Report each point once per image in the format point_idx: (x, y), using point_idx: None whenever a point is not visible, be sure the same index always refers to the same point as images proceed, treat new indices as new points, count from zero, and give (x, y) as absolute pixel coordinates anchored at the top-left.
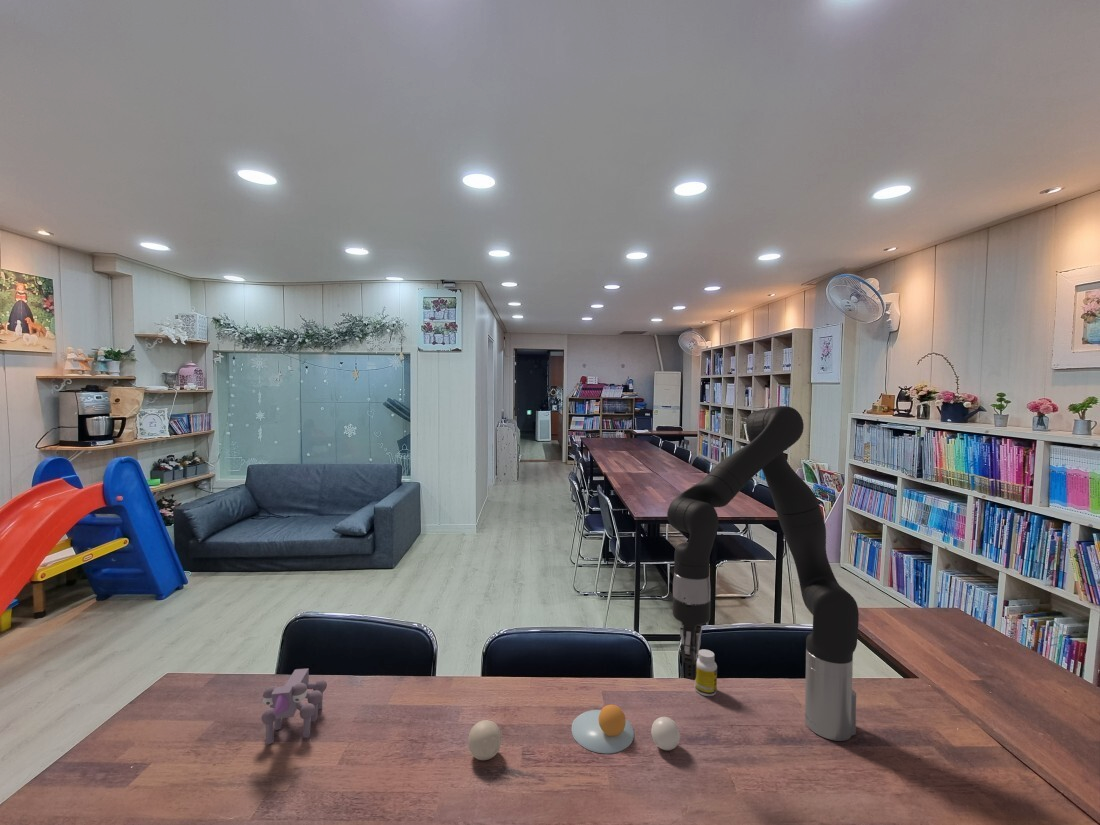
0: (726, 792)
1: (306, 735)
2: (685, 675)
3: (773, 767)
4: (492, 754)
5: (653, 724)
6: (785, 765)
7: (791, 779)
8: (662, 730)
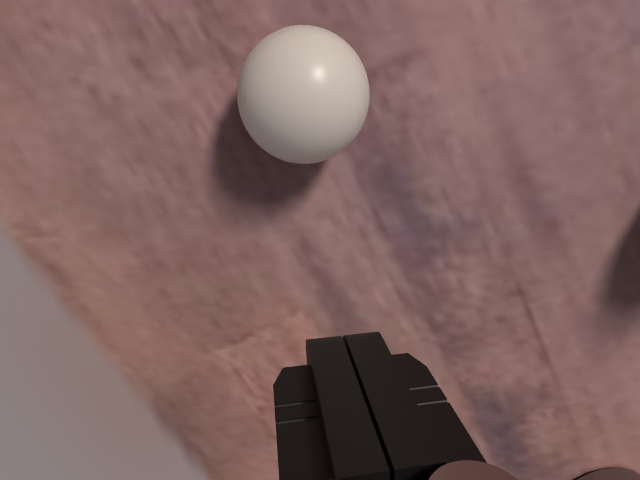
0: (190, 329)
1: None
2: (309, 353)
3: None
4: None
5: (289, 35)
6: None
7: None
8: (253, 94)
